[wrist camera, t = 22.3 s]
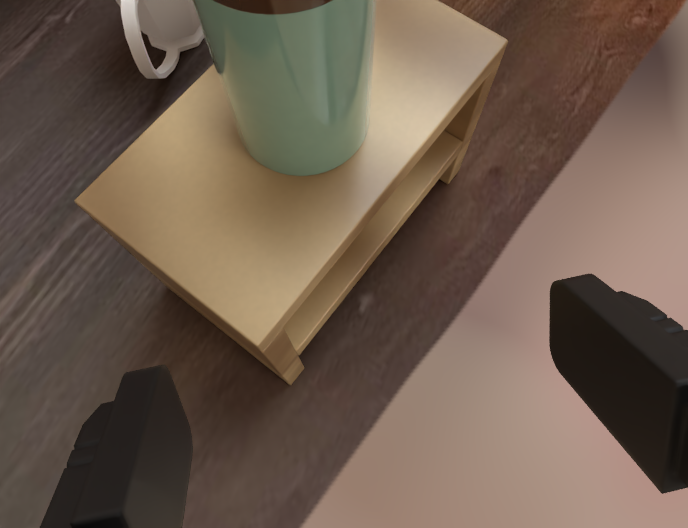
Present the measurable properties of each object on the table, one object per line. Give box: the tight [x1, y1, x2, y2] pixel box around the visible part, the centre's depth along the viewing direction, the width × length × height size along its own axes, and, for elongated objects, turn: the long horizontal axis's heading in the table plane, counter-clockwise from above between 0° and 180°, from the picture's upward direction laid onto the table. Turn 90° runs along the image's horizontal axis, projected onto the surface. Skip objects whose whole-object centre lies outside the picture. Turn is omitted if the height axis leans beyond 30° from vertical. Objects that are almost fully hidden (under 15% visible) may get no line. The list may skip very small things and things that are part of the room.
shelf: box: [75, 0, 508, 385], centre depth 27 cm, size 16×9×11 cm, turn 143°
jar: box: [192, 0, 377, 176], centre depth 17 cm, size 5×5×9 cm
